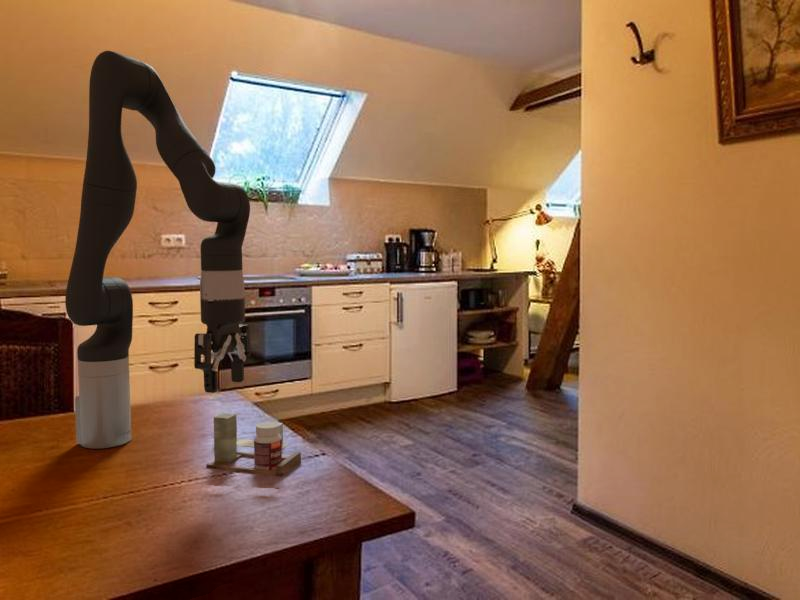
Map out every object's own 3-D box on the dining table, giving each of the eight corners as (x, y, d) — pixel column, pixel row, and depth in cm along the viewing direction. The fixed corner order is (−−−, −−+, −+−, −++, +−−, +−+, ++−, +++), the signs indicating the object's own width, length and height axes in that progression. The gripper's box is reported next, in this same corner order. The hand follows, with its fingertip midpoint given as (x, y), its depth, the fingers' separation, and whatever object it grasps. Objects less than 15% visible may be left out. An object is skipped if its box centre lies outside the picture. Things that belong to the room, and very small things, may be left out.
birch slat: (214, 447, 119) (213, 423, 118) (224, 442, 122) (223, 418, 122) (281, 455, 115) (280, 429, 114) (289, 449, 118) (289, 424, 118)
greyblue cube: (256, 448, 116) (256, 428, 115) (263, 441, 120) (263, 422, 119) (276, 449, 115) (276, 428, 115) (283, 442, 119) (282, 422, 119)
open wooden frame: (206, 471, 106) (205, 420, 105) (229, 457, 113) (229, 409, 112) (281, 480, 102) (281, 428, 101) (300, 465, 109) (300, 416, 108)
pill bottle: (275, 477, 104) (275, 429, 103) (249, 475, 105) (249, 428, 104) (286, 467, 108) (285, 422, 108) (261, 465, 109) (260, 420, 109)
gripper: (226, 293, 114) (228, 377, 115) (179, 298, 101) (182, 394, 102) (261, 293, 112) (263, 379, 113) (218, 299, 98) (221, 397, 100)
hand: (225, 386), depth 108 cm, fingers open, 8 cm apart
